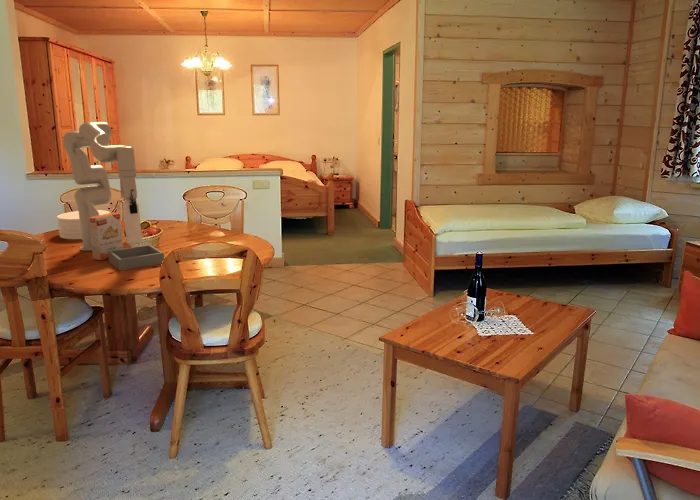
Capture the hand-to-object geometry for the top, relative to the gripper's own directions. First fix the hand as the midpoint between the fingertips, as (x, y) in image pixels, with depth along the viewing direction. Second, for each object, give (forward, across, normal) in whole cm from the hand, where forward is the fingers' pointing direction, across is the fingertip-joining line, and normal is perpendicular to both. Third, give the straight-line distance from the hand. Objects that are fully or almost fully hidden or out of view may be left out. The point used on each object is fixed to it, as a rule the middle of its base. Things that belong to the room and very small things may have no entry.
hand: (131, 211), depth 265 cm
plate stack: (+24, -81, -5) cm, 84 cm away
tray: (+24, 0, 0) cm, 24 cm away
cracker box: (+24, -18, -8) cm, 31 cm away
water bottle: (+15, 0, 0) cm, 15 cm away
